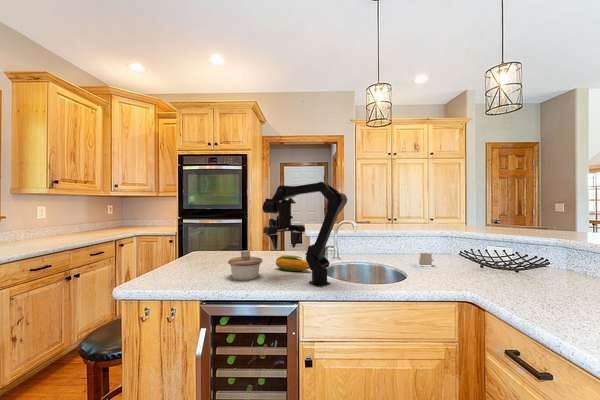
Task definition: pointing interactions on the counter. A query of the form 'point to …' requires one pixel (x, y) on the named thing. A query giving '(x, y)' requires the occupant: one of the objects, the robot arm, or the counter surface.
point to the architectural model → (425, 259)
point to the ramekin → (245, 272)
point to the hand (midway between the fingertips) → (284, 248)
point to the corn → (291, 263)
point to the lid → (245, 260)
